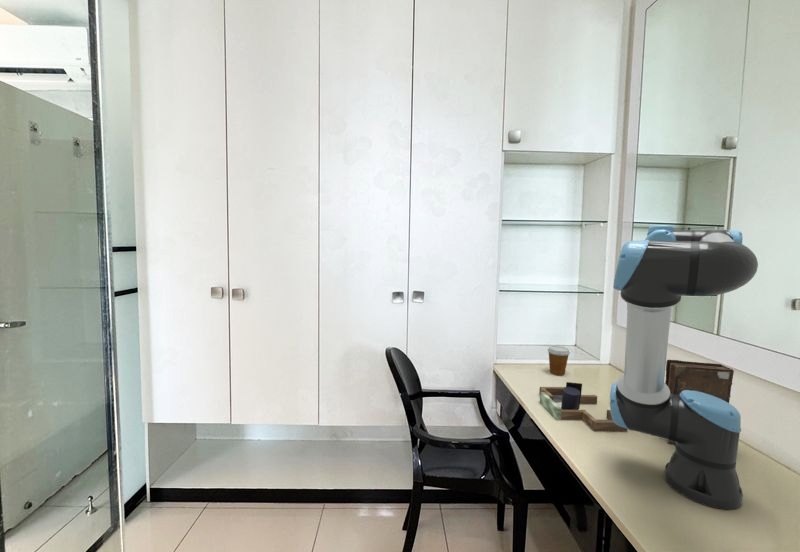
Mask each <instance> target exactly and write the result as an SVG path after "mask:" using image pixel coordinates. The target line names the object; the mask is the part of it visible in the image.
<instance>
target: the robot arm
mask: <svg viewBox="0 0 800 552" xmlns="http://www.w3.org/2000/svg"><path fill="white" fill-rule="evenodd" d="M646 235H647V236H646V237H645V240H644V239H643V240H629V241H626V242H625V243H624V244H623V245H622V246H621V250H620V253H619V257H618V260H617V265H616V270H615V275H614V280H613V289H614V290H617V291H620V297H621V300H623V302H625V303H626V304H627V310H626V311H627V312H626V313H627V314H626V326H625V327H626V328H625V331H626V334H625V348H624V350H625V353H624V371H623V372H624V373H623V375H622V376H620V377H619V378H618V379H617V381H616V382H612V384H611V386H610V391H609V392H610V393H609V394H610V395H609V400H610V401H609V410H611V416H612V420H613V421H614V423H615V424H616V425H618V426H621V427H623V428H626V429H628V430H627V431H633V432H637V433H641V434H645V435H649V436H653V437H657V438H660V439H663V440H670V441H674V442H676V444H675V449H674V451H673V453H672V454H671V456H670V459H669V461H668V462H667V463H666V465H665V467H664V475H663V478H664V480H665V481H666V483H667V485H669V486H670V487H671V488H672V489H673V490H674V491H676V492H677V493H679V494H681V495H682V496H684V497H685V498H688V499H689V500H691V501H694V502H696V503H699V504H702V505H704V506H707V507H711V508H716V509H722V510H735V509H739V508H740V507H741V506H742V504H743V497H744V494H743V490H742V487H741V485H740V480H739V475H738V473H737V469H736V468H737V460H738V458H737V457H738V450H739V449H738V448H739V440H740V434H741V432H742V428H741V423H742V422H741V421H742V420H741V416H742V415H741V413H740V411H739V410H738V409H737V408H736V407H735V406H734V405H732V404H730V402H729V403H727V402H726V401H724V400H722V399H719V398H717V397H714V396H712V395H709V394H706V393H702V392H698V391H693V390H692V391H690V390H684V391H682V392H681V393H680V396H679V395H674V394H670V390H669V388H668V386H667V385H666V384H665V377H666V362H667V355H668V345H669V344H668V343H669V334H670V327H671V326H670V325H671V317H672V315H671V313H672V308H673V307H676V306H677V305H678V304H680V302H681V300H682V296H691V297H694V296H695V297H712V296H719V295H724V294H727V293H730V292H733V291H736V290H738V289H740V288H742V287H744V286H745V285H746V284H748V283H749V282H750V281H751V280H752V279H753V278H754V277H755V276H756V274H757V272H758V268H759V262H758V258H757V256H756V254H755V253H754V252H753V251H752V249H750V248H749V247H748V246H746V245H744V244H743V233H742V232H741V231H740V230H732V229H731V230H729V229H723V230H722V229H721V230H719V229H718V230H717V229H713V230H712V229H710V230H706V229H705V230H702V229H701V230H696V229H694V230H691V229H690V230H687V229H685V230H684V229H681V230H680V229H679V230H678V229H677V227H676V226H675V225H672V224H653V225H650V226H649V227H648V229H647V234H646Z"/></svg>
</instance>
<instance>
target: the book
mask: <svg viewBox="0 0 800 552" xmlns="http://www.w3.org/2000/svg"><path fill="white" fill-rule="evenodd" d="M734 373H735V370H734V369H733V368H730V367H728V366H725V365H723V364H720V363H711V362H700V361H699V362H697V361H685V360H678V359H666V366H665V380H664V383H665V384H666V385H667V386H668V388H669V390H670V394H674V395H679V396H680V393H681V392H682V391H684V390H690V391H692V390H693V391H698V392H702V393H706V394H709V395H712V396H714V397H717V398H719V399H722V400H724V401H726V402H727V403H729V404H730V398H731V391H732V385H733V380H734V379H733V378H734ZM666 440H667V439H666ZM666 443H667V444H671V445H676V442H674V441H670V440H667V441H666Z"/></svg>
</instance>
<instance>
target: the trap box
mask: <svg viewBox="0 0 800 552" xmlns="http://www.w3.org/2000/svg"><path fill="white" fill-rule="evenodd" d="M564 387H565V386H539V393H538V394H539V403H540V404H541V405H542V407H544V409H545V410H547V412H548V413H549V414H550V415H551V416H552V417H553V418H554V419H555V420H557V421H583V423H585V424H586V425H587V426H588V428H590V429H592V431H594V432H628V431H629V430H628V429H626V428H623V427H621V426H618V425H616V424H615V423H614V421H613V420H612V416H611V410H610V409H606V417H605V418H606V419H596V418H595V417H594V416H593V415H592V414H590V413H589V412H588V411H587V410H586V409H578V410H562V409H561V407H560V406H559V404H557V403H562V394H563V388H564ZM597 404H598V396H597V395H595V394H581V399H580V405H597Z"/></svg>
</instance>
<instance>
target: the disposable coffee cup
mask: <svg viewBox="0 0 800 552" xmlns="http://www.w3.org/2000/svg"><path fill="white" fill-rule="evenodd" d="M547 352H548V363H549V373H550V374H551V375H553V376H557V377H559V376H560V377H562V376H565V375H564V374H565V373H566V369H567V364H568V359H569V355H570V354H571V353H570V349H569V348H567V347H564V346H559V345H552V346H548V349H547Z"/></svg>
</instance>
